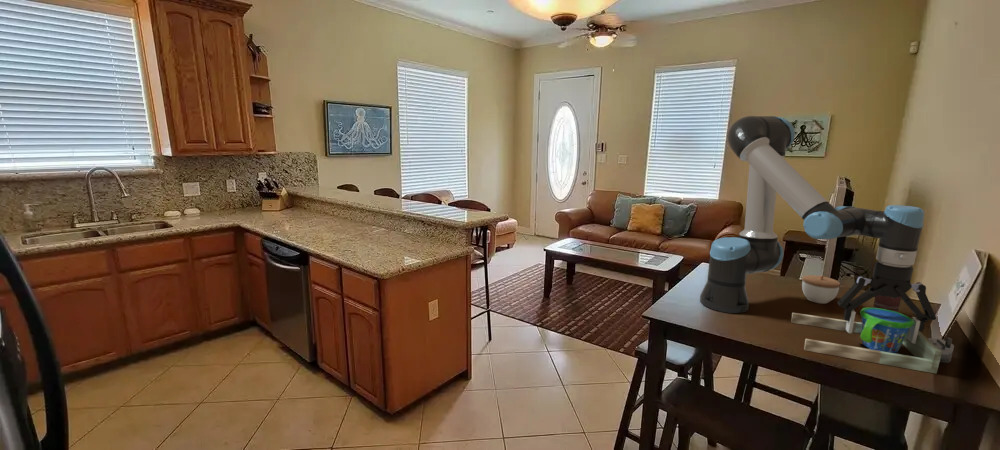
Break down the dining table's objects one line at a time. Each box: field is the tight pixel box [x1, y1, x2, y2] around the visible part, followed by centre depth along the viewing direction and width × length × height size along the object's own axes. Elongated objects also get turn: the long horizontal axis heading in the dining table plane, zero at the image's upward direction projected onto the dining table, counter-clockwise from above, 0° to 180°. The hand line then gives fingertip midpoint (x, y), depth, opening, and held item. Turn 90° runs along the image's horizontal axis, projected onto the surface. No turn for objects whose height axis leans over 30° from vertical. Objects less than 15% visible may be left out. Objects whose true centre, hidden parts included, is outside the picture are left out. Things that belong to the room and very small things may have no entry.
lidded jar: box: [801, 274, 841, 305], centre depth 149 cm, size 11×11×9 cm
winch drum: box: [927, 337, 955, 364], centre depth 109 cm, size 5×6×7 cm
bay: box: [790, 312, 942, 374], centre depth 118 cm, size 27×20×6 cm
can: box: [872, 295, 902, 313], centre depth 136 cm, size 6×6×14 cm
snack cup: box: [859, 307, 914, 354], centre depth 115 cm, size 16×10×10 cm
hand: (879, 336), depth 115 cm, fingers open, 13 cm apart
